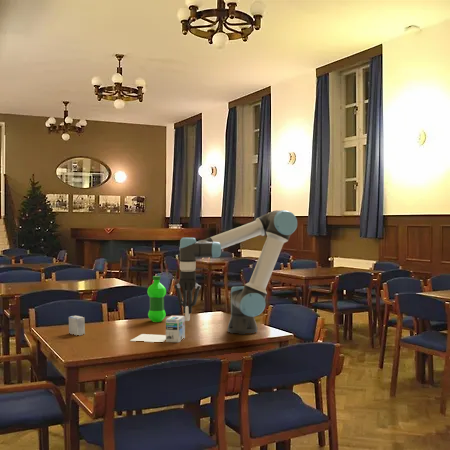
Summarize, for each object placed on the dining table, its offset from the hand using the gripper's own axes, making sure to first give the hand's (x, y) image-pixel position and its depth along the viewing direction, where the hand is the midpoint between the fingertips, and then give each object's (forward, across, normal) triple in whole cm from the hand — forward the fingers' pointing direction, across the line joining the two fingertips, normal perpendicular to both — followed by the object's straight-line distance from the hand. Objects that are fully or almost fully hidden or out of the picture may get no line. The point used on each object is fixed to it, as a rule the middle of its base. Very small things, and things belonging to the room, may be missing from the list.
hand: (187, 320), depth 271 cm
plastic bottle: (+10, +31, -42) cm, 53 cm away
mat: (+10, +18, 0) cm, 20 cm away
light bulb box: (+10, +6, 0) cm, 12 cm away
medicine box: (+10, +58, -2) cm, 59 cm away
